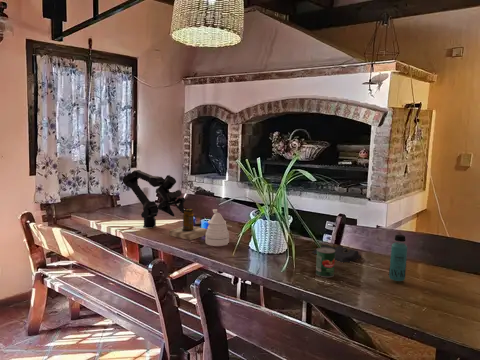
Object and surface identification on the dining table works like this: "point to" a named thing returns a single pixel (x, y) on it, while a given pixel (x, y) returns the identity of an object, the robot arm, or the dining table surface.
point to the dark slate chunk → (342, 254)
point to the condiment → (188, 221)
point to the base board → (188, 233)
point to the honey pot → (217, 231)
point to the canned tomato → (325, 262)
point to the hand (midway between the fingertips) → (179, 214)
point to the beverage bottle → (398, 259)
